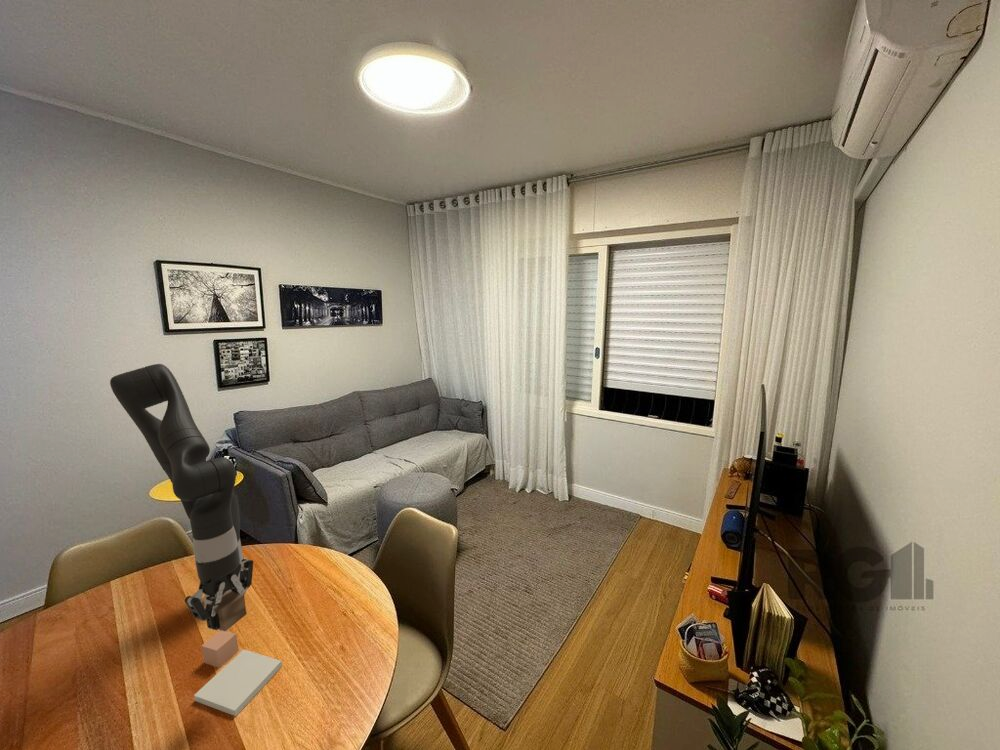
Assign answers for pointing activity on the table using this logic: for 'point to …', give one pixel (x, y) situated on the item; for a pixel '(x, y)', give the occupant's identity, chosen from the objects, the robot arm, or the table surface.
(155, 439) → the robot arm
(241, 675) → the base plate
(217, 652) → the pink cube
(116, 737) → the table surface
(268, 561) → the table surface
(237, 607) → the walnut brick
